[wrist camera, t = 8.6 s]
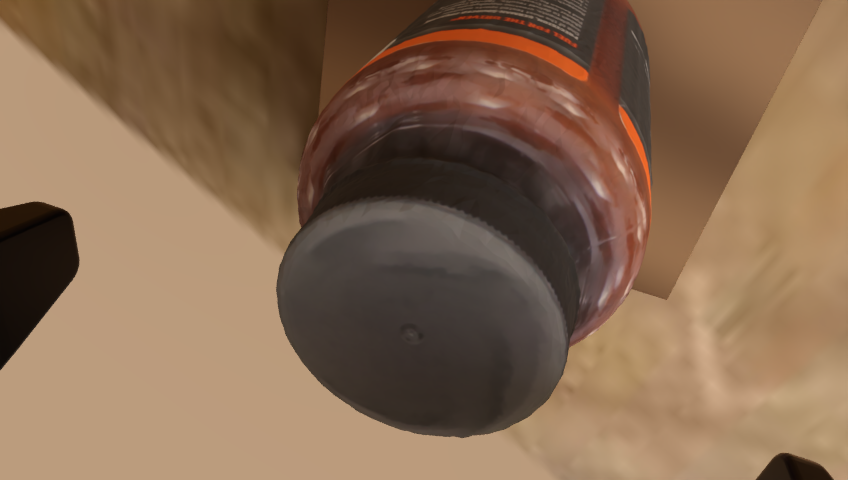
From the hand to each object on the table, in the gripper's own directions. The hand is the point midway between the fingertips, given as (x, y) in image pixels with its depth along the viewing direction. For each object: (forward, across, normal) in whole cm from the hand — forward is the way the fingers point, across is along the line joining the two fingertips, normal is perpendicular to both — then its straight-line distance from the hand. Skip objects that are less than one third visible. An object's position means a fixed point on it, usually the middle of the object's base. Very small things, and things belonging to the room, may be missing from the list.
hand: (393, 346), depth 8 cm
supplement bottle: (+12, 0, 0) cm, 12 cm away
